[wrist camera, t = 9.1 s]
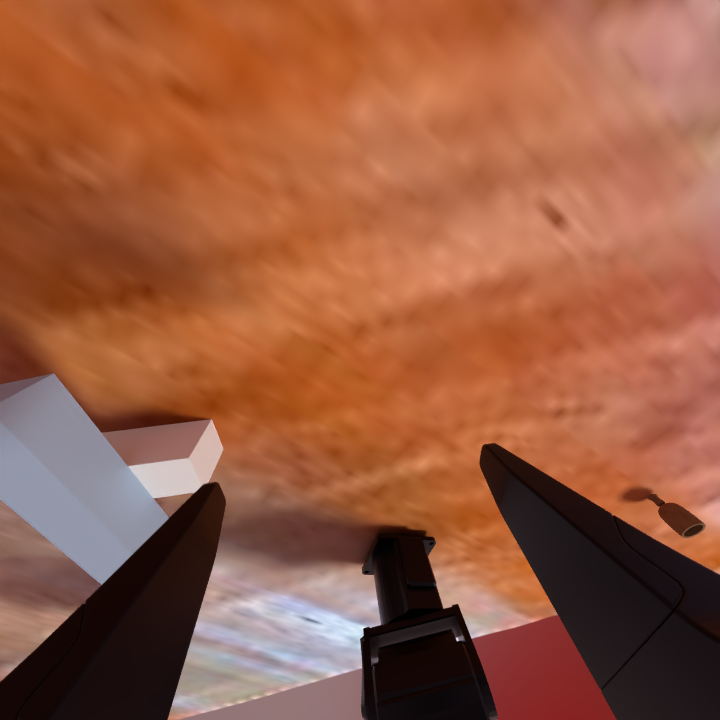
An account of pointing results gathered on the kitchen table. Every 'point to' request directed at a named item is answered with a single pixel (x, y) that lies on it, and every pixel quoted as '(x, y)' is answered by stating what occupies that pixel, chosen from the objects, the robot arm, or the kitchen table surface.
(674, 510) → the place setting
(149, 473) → the fulcrum
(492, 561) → the kitchen table surface
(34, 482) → the bar
